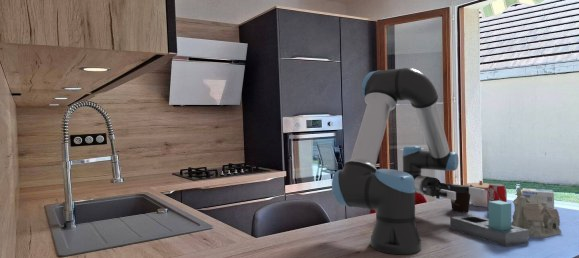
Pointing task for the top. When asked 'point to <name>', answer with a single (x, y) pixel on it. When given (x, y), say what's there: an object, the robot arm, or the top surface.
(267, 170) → the top surface
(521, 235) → the grey block with holes
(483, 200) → the lidded bowl
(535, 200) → the light bulb box
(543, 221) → the ceramic cottage
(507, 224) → the teal peg
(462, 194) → the coffee mug
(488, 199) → the soda can
